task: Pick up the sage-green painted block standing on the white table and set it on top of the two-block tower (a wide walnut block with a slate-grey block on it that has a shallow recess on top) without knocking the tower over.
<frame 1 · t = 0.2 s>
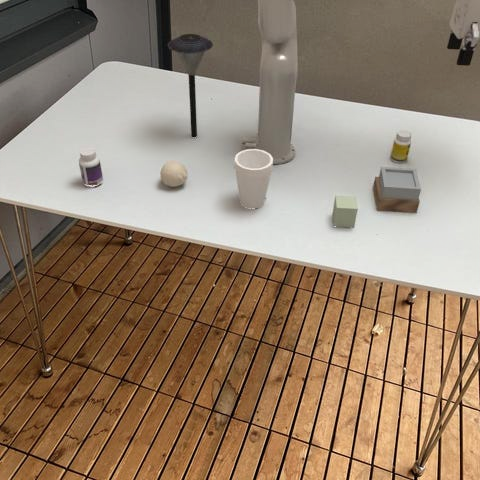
hand: (457, 56, 144), 31 cm above the table, tool pointing down, fingers open, 9 cm apart
walnut block: (393, 201, 150), on the table, touching grey block
solar garden light: (194, 137, 172), on the table
foam cup: (252, 202, 148), on the table
pill bottle: (93, 182, 154), on the table
supplement bottle: (398, 159, 165), on the table
cream round ball: (175, 184, 154), on the table
sage block: (343, 221, 143), on the table
grey block: (398, 188, 147), point 4 cm above the table, touching walnut block
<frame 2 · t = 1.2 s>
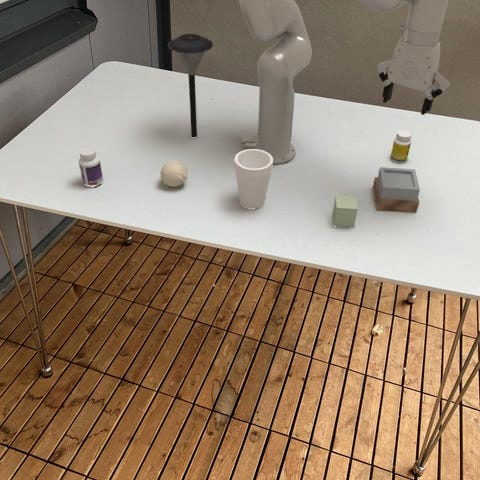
hand: (405, 106, 136), 25 cm above the table, tool pointing down, fingers open, 9 cm apart
nothing on the table moved.
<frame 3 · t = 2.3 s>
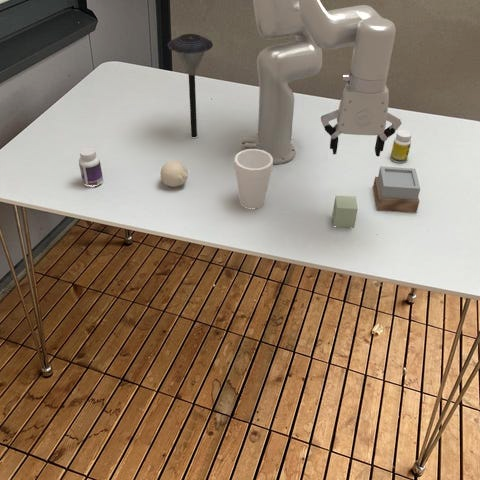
hand: (355, 152, 129), 20 cm above the table, tool pointing down, fingers open, 9 cm apart
nothing on the table moved.
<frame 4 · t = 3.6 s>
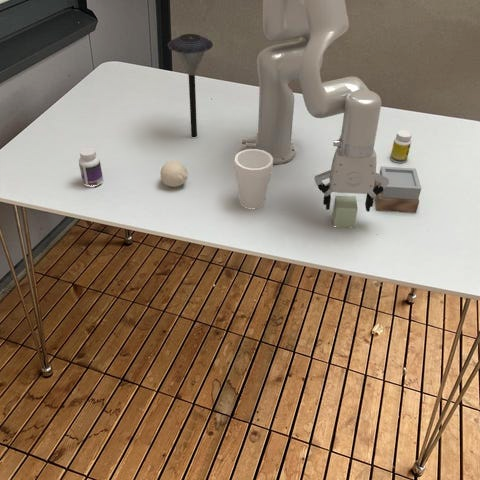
hand: (347, 207, 139), 5 cm above the table, tool pointing down, fingers open, 9 cm apart
nothing on the table moved.
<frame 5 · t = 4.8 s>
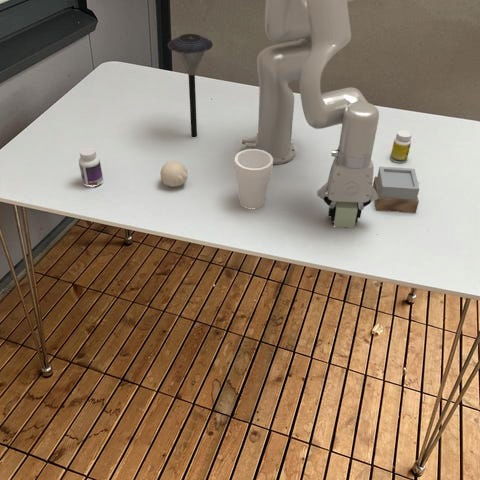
hand: (343, 218, 142), 1 cm above the table, tool pointing down, fingers closed on sage block, 5 cm apart
sage block: (343, 221, 143), on the table, touching gripper
everything else where it was.
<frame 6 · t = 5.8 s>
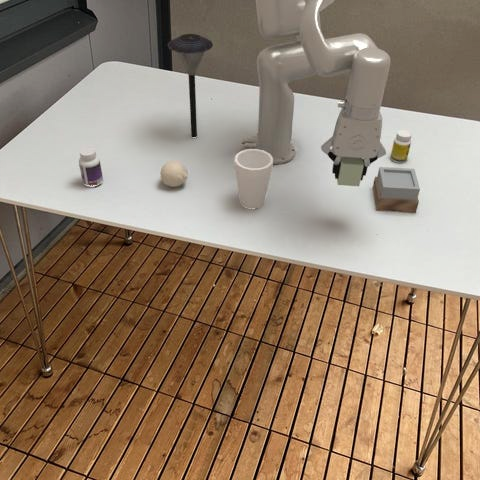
hand: (348, 175, 135), 13 cm above the table, tool pointing down, fingers closed on sage block, 5 cm apart
sage block: (347, 179, 135), point 12 cm above the table, touching gripper
everything else where it was.
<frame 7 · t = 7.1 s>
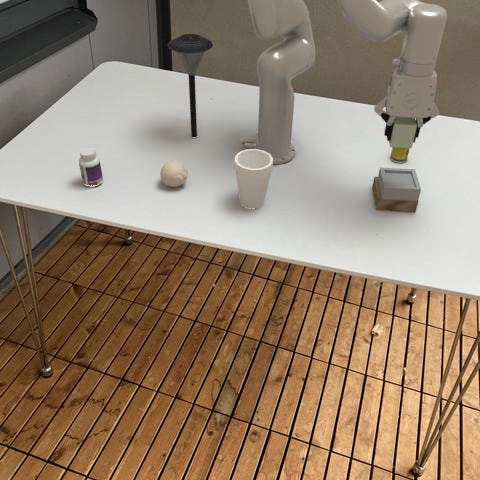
hand: (400, 138, 136), 20 cm above the table, tool pointing down, fingers closed on sage block, 5 cm apart
sage block: (399, 142, 136), point 18 cm above the table, touching gripper
everything else where it was.
when the fingers open (9 cm above the table, at t = 9.5 s): sage block drops 1 cm, resting on grey block.
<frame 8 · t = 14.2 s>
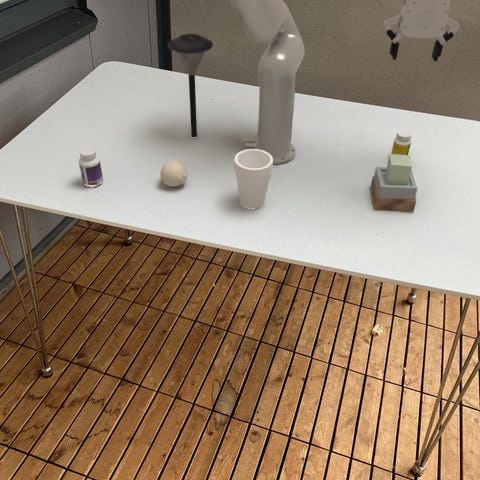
hand: (413, 58, 137), 33 cm above the table, tool pointing down, fingers open, 9 cm apart
walnut block: (390, 200, 150), on the table
sage block: (396, 180, 146), point 6 cm above the table, touching grey block
grey block: (393, 188, 148), point 3 cm above the table, touching sage block
everything else where it was.
at the end: sage block inside the target area on the walnut block (0.2 cm from its centre), point 6.7 cm above the walnut block's base; sage block tilted 0°; grey block point 3.6 cm above the table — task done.
